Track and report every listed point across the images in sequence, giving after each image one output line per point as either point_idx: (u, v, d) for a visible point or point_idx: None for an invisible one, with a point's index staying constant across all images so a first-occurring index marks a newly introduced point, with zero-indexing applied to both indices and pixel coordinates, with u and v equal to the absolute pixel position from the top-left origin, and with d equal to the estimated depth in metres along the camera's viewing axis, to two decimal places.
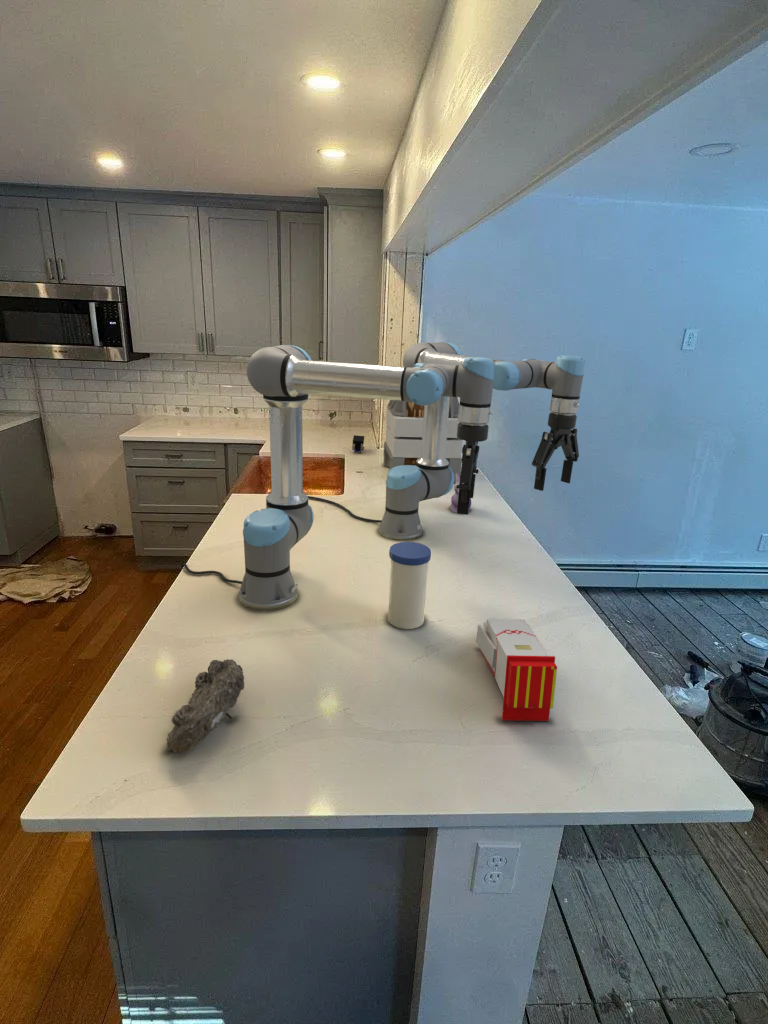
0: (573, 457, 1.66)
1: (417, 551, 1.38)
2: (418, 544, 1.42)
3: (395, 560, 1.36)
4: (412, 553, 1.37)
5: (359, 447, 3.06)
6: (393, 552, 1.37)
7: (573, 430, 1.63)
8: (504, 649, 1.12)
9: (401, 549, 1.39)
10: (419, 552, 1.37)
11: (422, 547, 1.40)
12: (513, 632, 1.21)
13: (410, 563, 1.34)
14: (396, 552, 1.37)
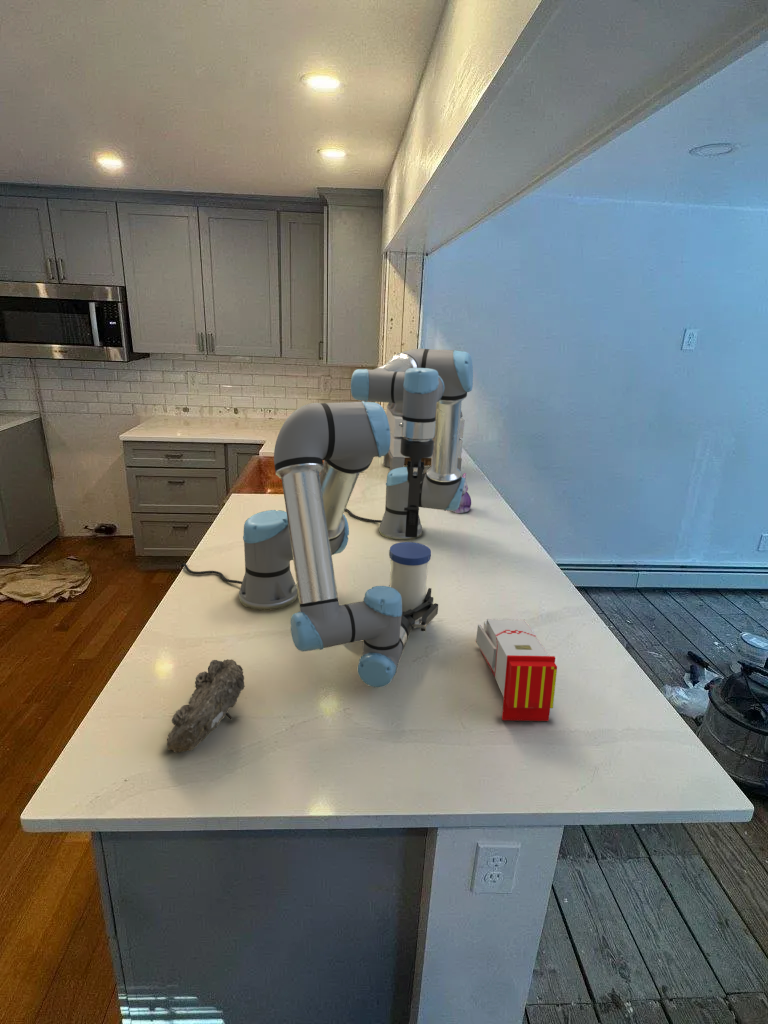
0: None
1: (417, 551, 1.38)
2: (418, 544, 1.42)
3: (395, 560, 1.36)
4: (412, 553, 1.37)
5: None
6: (393, 552, 1.37)
7: None
8: (504, 649, 1.12)
9: (401, 549, 1.39)
10: (419, 552, 1.37)
11: (422, 547, 1.40)
12: (513, 632, 1.21)
13: (410, 563, 1.34)
14: (396, 552, 1.37)
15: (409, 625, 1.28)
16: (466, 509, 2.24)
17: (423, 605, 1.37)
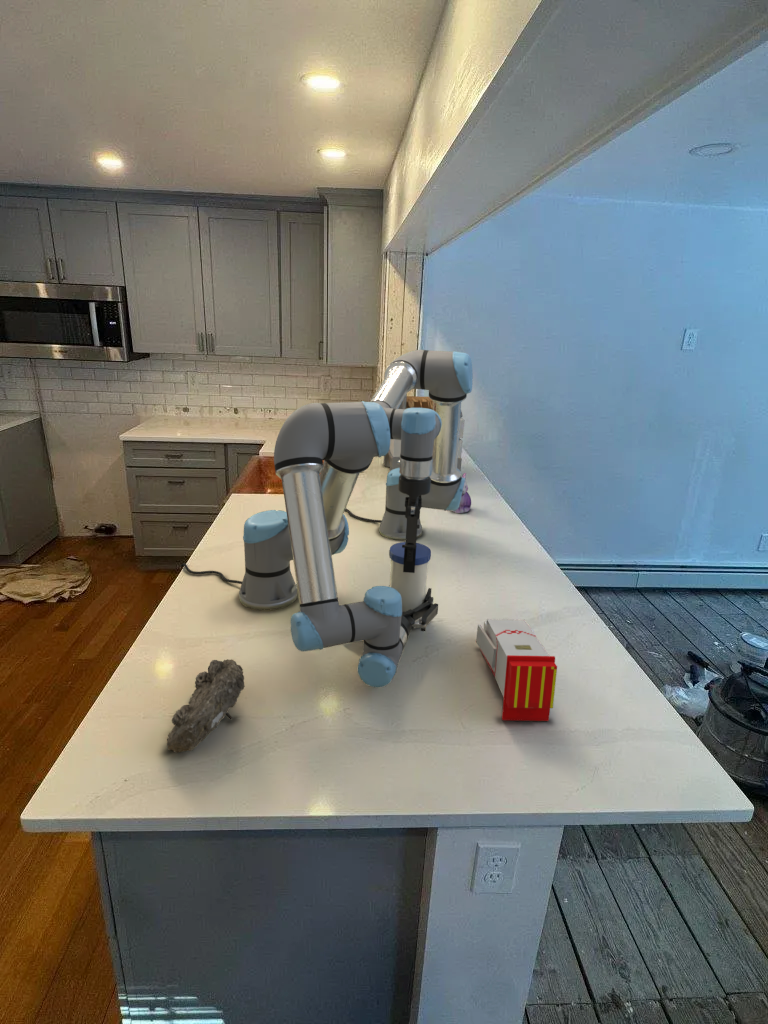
0: None
1: (417, 551, 1.38)
2: (418, 544, 1.42)
3: (395, 560, 1.36)
4: None
5: None
6: (393, 552, 1.37)
7: None
8: (504, 649, 1.12)
9: (401, 549, 1.39)
10: (419, 552, 1.37)
11: (422, 547, 1.40)
12: (513, 632, 1.21)
13: None
14: (396, 552, 1.37)
15: (409, 625, 1.28)
16: (466, 509, 2.24)
17: (423, 605, 1.37)
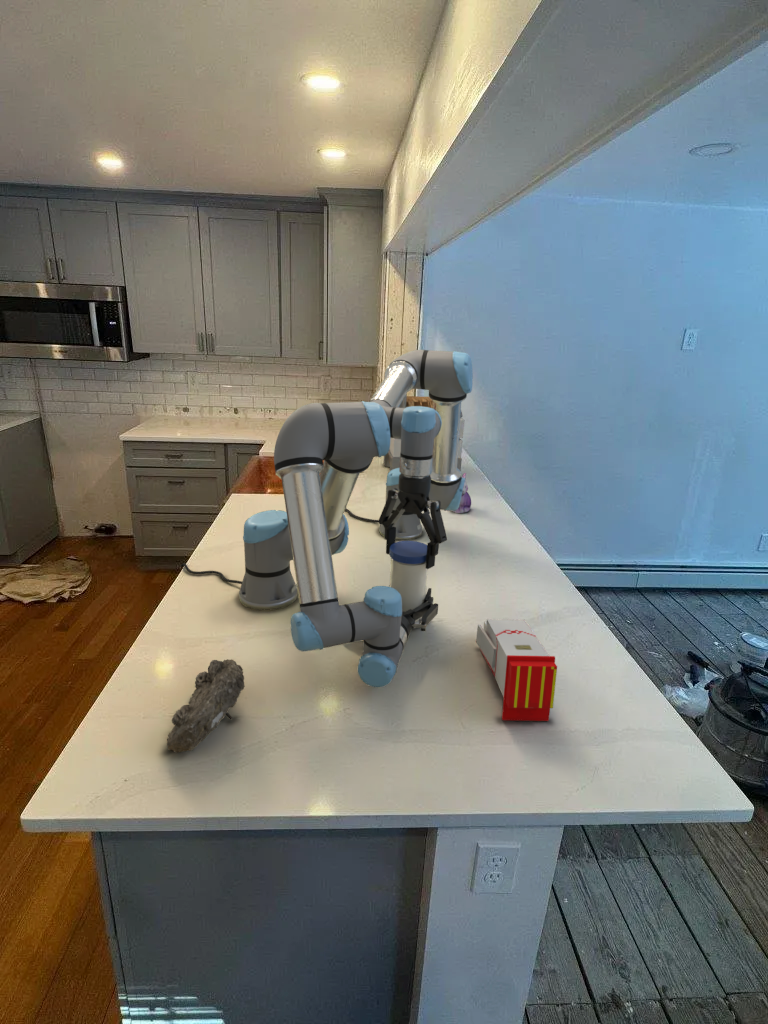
0: (430, 538, 1.32)
1: (411, 545, 1.40)
2: (393, 545, 1.40)
3: None
4: (418, 547, 1.39)
5: None
6: (422, 555, 1.35)
7: None
8: (504, 649, 1.12)
9: (412, 552, 1.36)
10: (413, 544, 1.41)
11: (400, 543, 1.41)
12: (513, 632, 1.21)
13: None
14: (421, 553, 1.36)
15: (409, 625, 1.28)
16: (466, 509, 2.24)
17: (423, 605, 1.37)
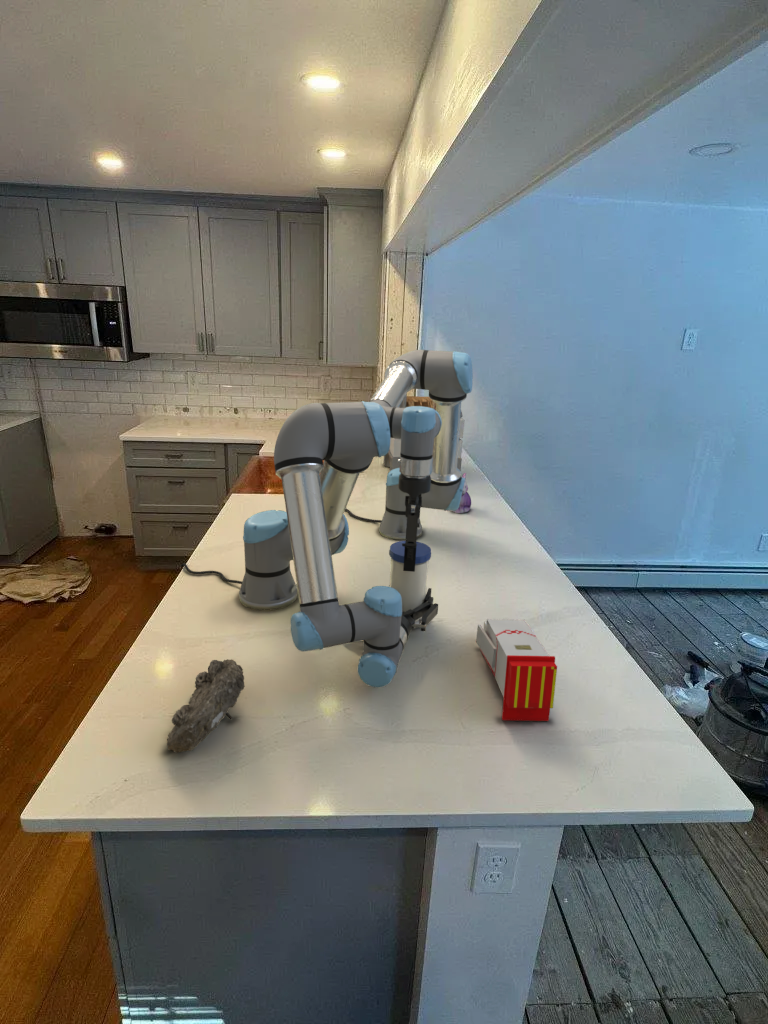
0: None
1: None
2: (393, 545, 1.40)
3: (427, 559, 1.36)
4: (418, 547, 1.39)
5: None
6: (422, 555, 1.35)
7: None
8: (504, 649, 1.12)
9: None
10: None
11: (400, 543, 1.41)
12: (513, 632, 1.21)
13: None
14: (421, 553, 1.36)
15: (409, 625, 1.28)
16: (466, 509, 2.24)
17: (423, 605, 1.37)
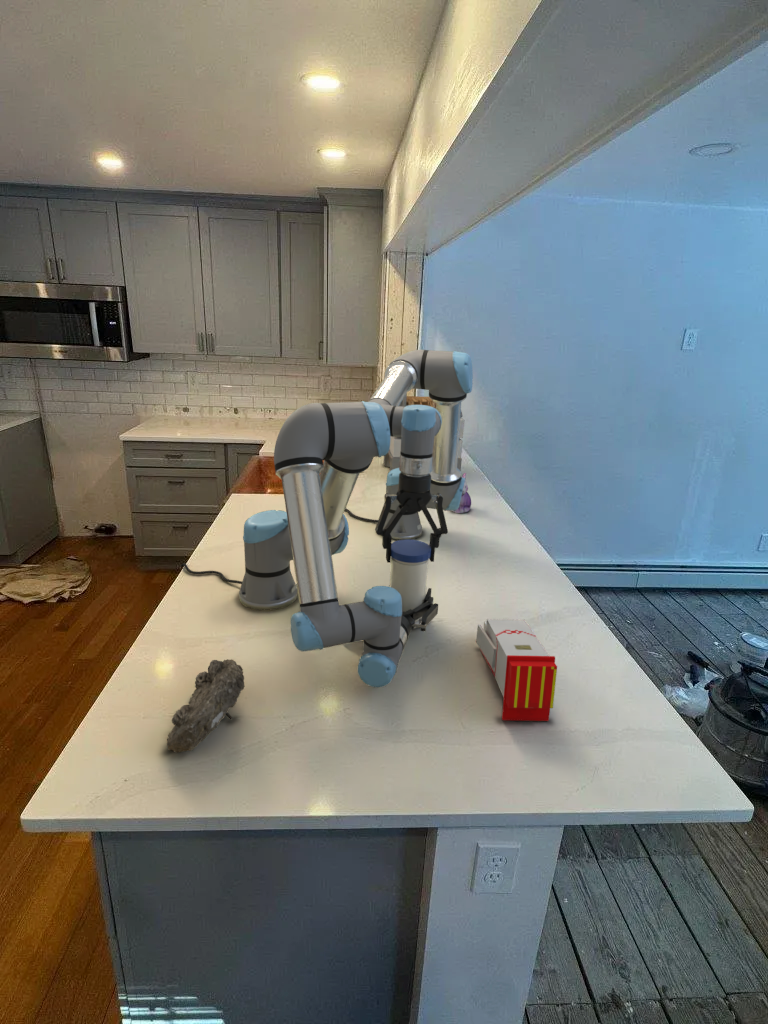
0: (436, 531, 1.37)
1: (402, 547, 1.38)
2: (409, 554, 1.34)
3: None
4: (405, 544, 1.40)
5: None
6: (421, 542, 1.42)
7: (437, 497, 1.34)
8: (504, 649, 1.12)
9: (418, 546, 1.39)
10: (400, 546, 1.39)
11: (401, 551, 1.36)
12: (513, 632, 1.21)
13: None
14: (419, 542, 1.41)
15: (409, 625, 1.28)
16: (466, 509, 2.24)
17: (423, 605, 1.37)
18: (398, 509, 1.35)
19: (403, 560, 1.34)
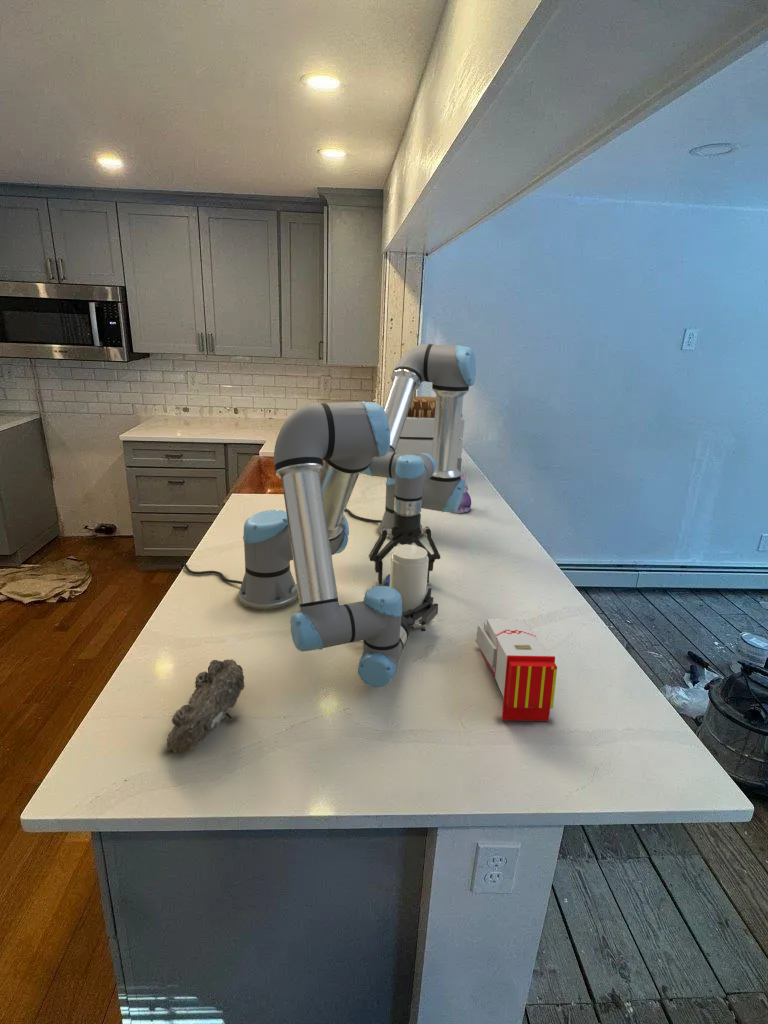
0: (430, 557, 1.60)
1: None
2: None
3: None
4: None
5: None
6: None
7: (426, 530, 1.58)
8: (504, 649, 1.12)
9: None
10: None
11: None
12: (513, 632, 1.21)
13: None
14: None
15: (409, 625, 1.28)
16: (466, 509, 2.24)
17: (423, 605, 1.37)
18: (391, 541, 1.58)
19: None
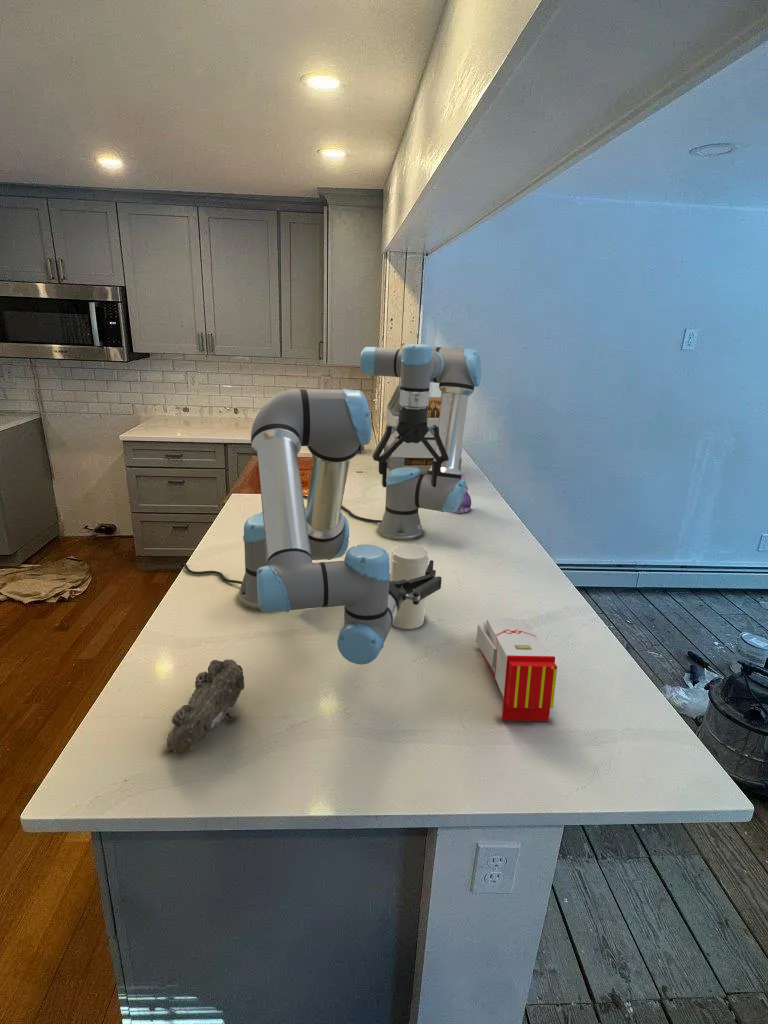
0: (437, 458, 1.50)
1: None
2: None
3: None
4: None
5: (359, 447, 3.06)
6: None
7: (434, 428, 1.48)
8: (504, 649, 1.12)
9: None
10: None
11: None
12: (513, 632, 1.21)
13: None
14: None
15: (400, 595, 1.10)
16: (466, 509, 2.24)
17: (422, 577, 1.18)
18: (397, 439, 1.48)
19: None
